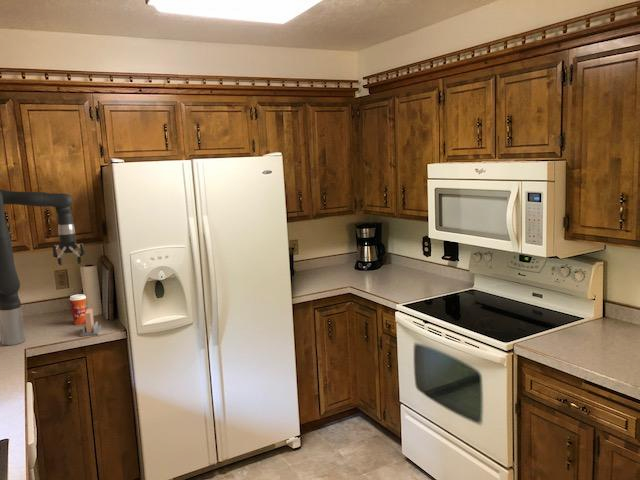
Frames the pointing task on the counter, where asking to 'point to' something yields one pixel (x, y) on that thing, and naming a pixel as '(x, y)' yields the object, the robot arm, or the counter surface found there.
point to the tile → (89, 320)
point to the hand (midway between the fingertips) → (70, 264)
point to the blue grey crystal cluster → (94, 332)
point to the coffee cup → (78, 308)
